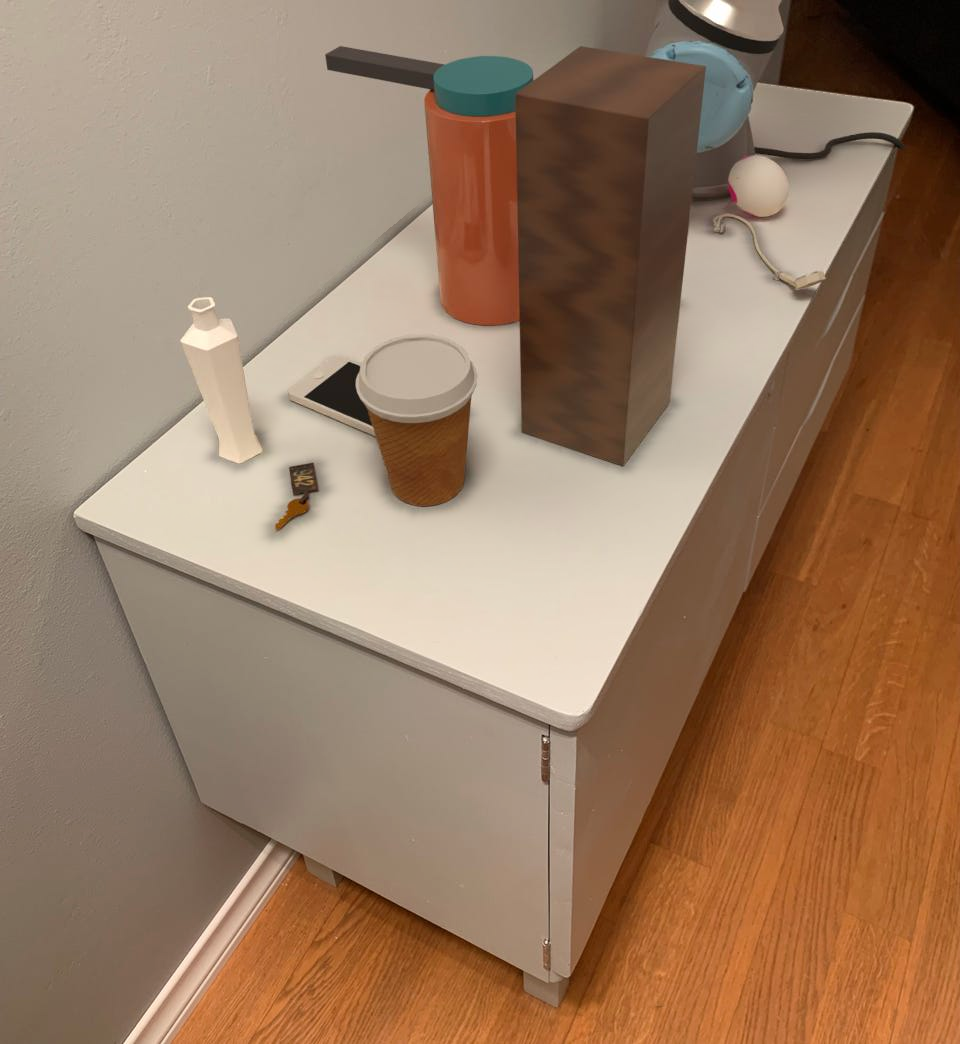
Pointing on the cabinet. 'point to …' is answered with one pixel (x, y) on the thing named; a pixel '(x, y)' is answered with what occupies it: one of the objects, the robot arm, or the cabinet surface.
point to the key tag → (299, 490)
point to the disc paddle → (444, 78)
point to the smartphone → (334, 393)
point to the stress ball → (758, 186)
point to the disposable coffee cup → (420, 413)
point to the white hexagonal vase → (221, 380)
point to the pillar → (603, 243)
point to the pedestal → (475, 213)
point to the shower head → (796, 282)
